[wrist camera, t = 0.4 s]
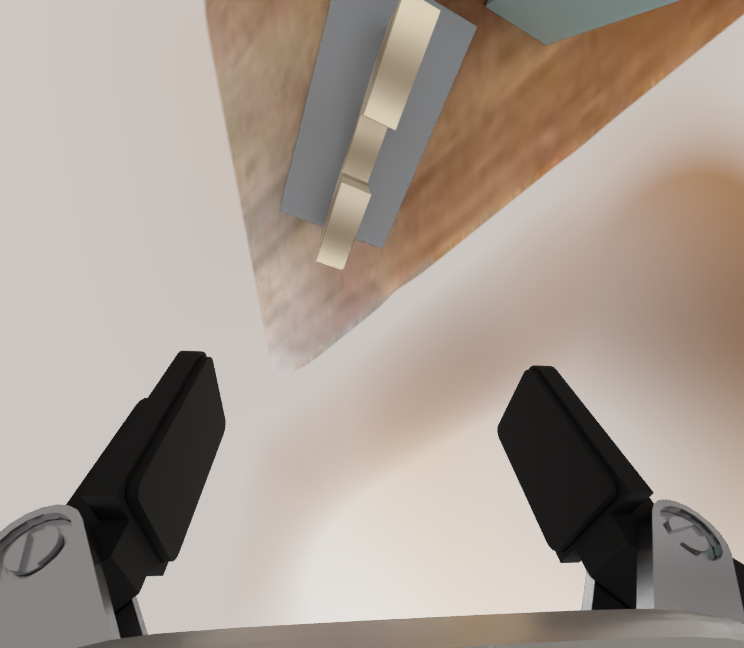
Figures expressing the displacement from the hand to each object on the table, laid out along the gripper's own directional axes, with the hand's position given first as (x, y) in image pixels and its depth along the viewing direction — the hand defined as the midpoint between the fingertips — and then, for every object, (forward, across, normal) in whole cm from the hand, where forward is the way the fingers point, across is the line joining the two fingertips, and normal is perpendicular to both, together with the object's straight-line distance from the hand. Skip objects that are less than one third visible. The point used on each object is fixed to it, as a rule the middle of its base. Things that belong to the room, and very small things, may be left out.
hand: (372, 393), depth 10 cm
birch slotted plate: (+29, 0, -4) cm, 30 cm away
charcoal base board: (+31, -1, -6) cm, 31 cm away
